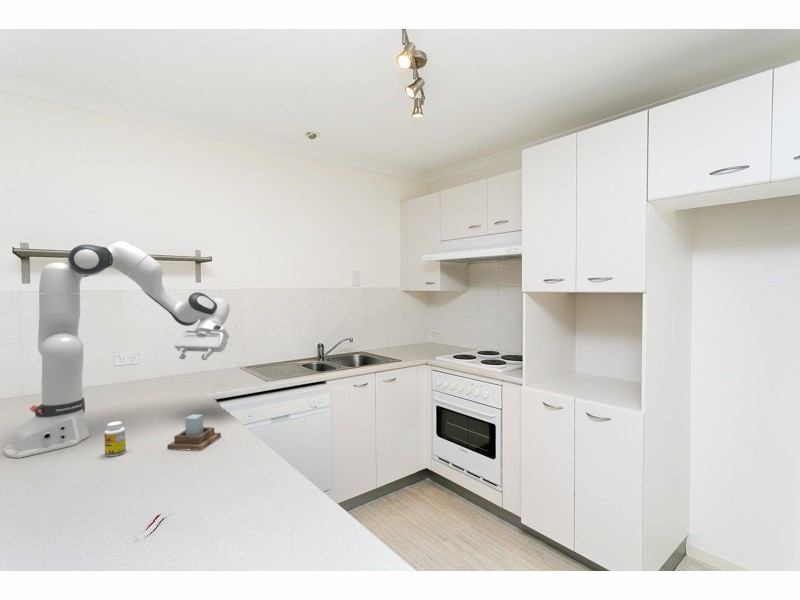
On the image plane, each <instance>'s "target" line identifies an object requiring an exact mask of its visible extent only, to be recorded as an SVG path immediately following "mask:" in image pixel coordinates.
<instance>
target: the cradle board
mask: <svg viewBox="0 0 800 600" xmlns="http://www.w3.org/2000/svg"><path fill="white" fill-rule="evenodd" d="M219 437H220V438H221V437H222V435H221V432H215V427H210V426H209V427H207V426H206V427H204V426H203V433H202V434H201V435H199V436H186V431H185V430H182V431H181V432H180V433H178V434H175V436H173V439H174V440H173V441H171V442H170V443H168V445H167V446H166V449H190V450H201V451H203V450H204V449H206V448H207V447H209V446H210V445H211V444H213V443H214V442H216V441H217V440H219V439H220V438H219ZM218 438H219V439H218ZM216 439H217V440H216ZM215 440H216V441H215ZM212 442H213V443H212ZM209 444H210V445H209ZM208 445H209V446H208ZM206 446H207V447H206ZM205 447H206V448H205ZM203 448H204V449H203ZM202 449H203V450H202Z"/></svg>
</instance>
